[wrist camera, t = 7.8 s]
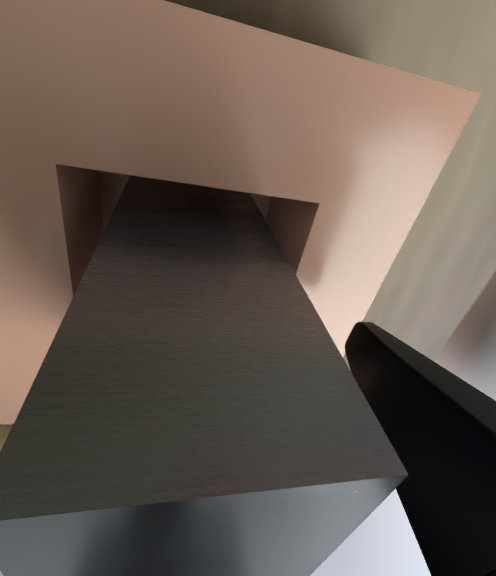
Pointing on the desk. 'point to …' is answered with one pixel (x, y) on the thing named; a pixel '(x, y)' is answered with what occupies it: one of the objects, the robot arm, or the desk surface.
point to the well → (200, 151)
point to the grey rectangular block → (189, 409)
